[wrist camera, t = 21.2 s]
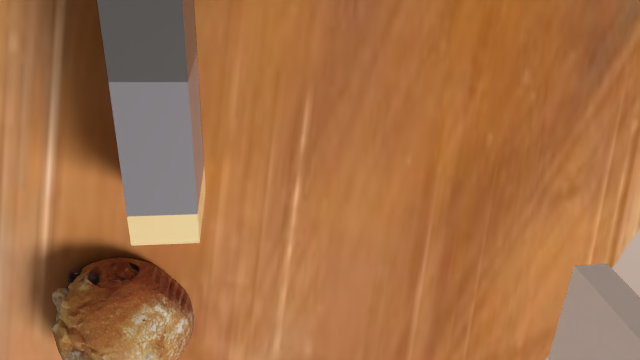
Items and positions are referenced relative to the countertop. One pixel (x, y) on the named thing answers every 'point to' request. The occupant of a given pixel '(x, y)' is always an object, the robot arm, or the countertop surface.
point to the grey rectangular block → (156, 116)
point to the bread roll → (122, 313)
